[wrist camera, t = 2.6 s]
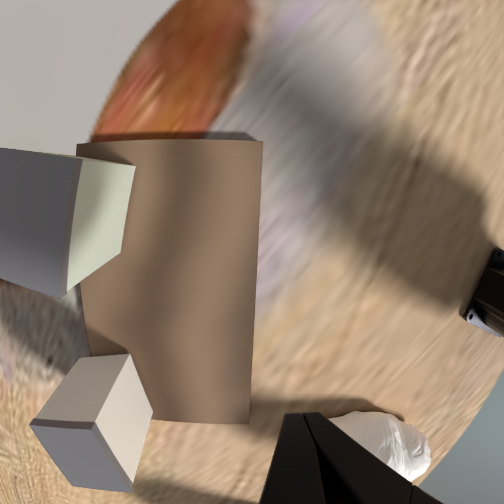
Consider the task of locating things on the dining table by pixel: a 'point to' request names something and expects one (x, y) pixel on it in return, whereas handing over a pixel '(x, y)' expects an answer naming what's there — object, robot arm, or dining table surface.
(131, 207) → the tan wooden board
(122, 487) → the white toy cabinet
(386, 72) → the dining table surface
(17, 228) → the pale green cabinet
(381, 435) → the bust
